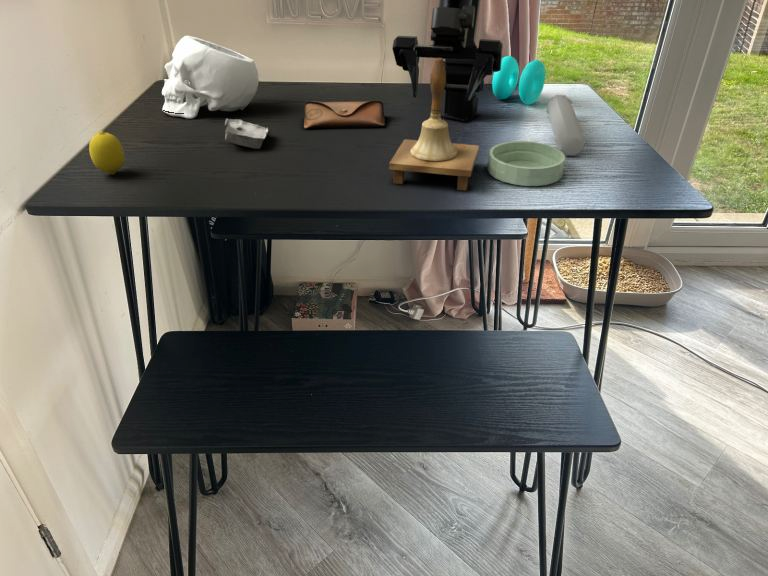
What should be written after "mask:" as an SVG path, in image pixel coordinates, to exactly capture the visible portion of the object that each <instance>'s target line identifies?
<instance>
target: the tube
mask: <svg viewBox="0 0 768 576" xmlns="http://www.w3.org/2000/svg"><path fill="white" fill-rule="evenodd" d="M546 113H547V114H548V117H549V122H550V124H551V129H552V132H553V136H554V140H555V144H556V148H557V149H559V150H560V151H562V152H563V154H564V155H565V157H566V156H567V157H576V156H577V155H578V154H579V153H580V152H581V151H583V149H584V146H585V141H586V138H585V135H584V133H583V130H582V127H581V125H580V123H579V122H580V121H579V120H578V117H577V115H576V112H575V110H574V107H573V100H571V99H570V98H569V97H567V96H566V95H564V94H555V95H554V96H553V97H552V98H551V99H550V100H549V101H548V102H547V107H546Z"/></svg>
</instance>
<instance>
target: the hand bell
mask: <svg viewBox="0 0 768 576" xmlns="http://www.w3.org/2000/svg"><path fill="white" fill-rule="evenodd" d="M444 61H445V60H444V59H443V58H434V63H433V65H432V68H431V71H430V72H431V73H430V76H429V84H430V87H429V88H430V91H431V92H430V93H431V98H432V99H431V108H430V116H429V118H428V119H426V120H424V121H423V122H422V124H421V128H420V129H421V131H420V135H419V137H418V142H417V143H416V144H415V145H414V146H413V147H412V149H411V151H410V153H411V155H412V156H414V157H416V158H418V159H421V160H427V161H444V160H449V159H452V158H454V157H455V156H456V155H457V150H456V148H455V147H454V146H453V145H452V143H453V142H452V141H451V137H450V134H449V133H450V132H449V123H448V122H447V121H446V120H444V119H443V118H442V117H441V114H442V97H443V94H444V91H445V90H444V88H445V83H446V71H445V66H444Z"/></svg>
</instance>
